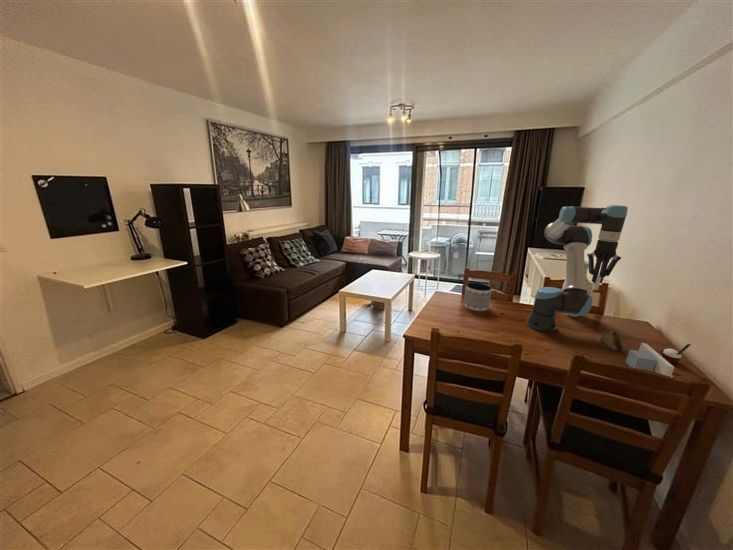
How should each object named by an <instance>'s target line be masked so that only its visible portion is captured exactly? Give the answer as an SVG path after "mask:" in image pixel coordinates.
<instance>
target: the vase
mask: <svg viewBox="0 0 733 550" xmlns="http://www.w3.org/2000/svg"><path fill="white" fill-rule="evenodd" d="M588 271H589V260H584V288H585V289H586V290H587V295H590V296H591V297H592V295H593V293H594V289H592V285H593V282H592V281H590V280H589V279H588V274H587V273H588ZM564 288H566V279H565V280H564V282H563V284H562V289H561V292H562V291H563V289H564ZM563 314H565V315H566V316H569V317H574V318H576V317H580V315H574V314H567V313H563Z"/></svg>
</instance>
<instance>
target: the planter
mask: <svg viewBox="0 0 733 550" xmlns="http://www.w3.org/2000/svg"><path fill="white" fill-rule="evenodd" d="M492 289H493V288H492V287H491V286H490V285H489V284H486V283H481V282H469V283H466V285H465V291H464V299H463V307H464V308H467V309H469V310H471V311H475V312H484V311H487V310H489V308H490V304H491V303H490V301H491V297H492V296H491V295H492Z"/></svg>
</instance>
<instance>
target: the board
mask: <svg viewBox="0 0 733 550" xmlns="http://www.w3.org/2000/svg"><path fill="white" fill-rule="evenodd" d="M638 351H644V352H648V353H649V354H650V355H652V356H653V357H654V358H655V359H656V360H657V362H656V364H655V367H654V370H653V372H656V373H660V374H663V375H666V376H670V377H674V376H673V372H674V369H675V366H674V365H673V364H672V363H669V362H668V361H666V360H665V359H664V358H663V357H662V355H661V354H660V353H658V352H657V351H655V350H654V349H653V347H651V346H650V345H649V344H648V343H645V342H641V344H640V346H639V348H638Z"/></svg>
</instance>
